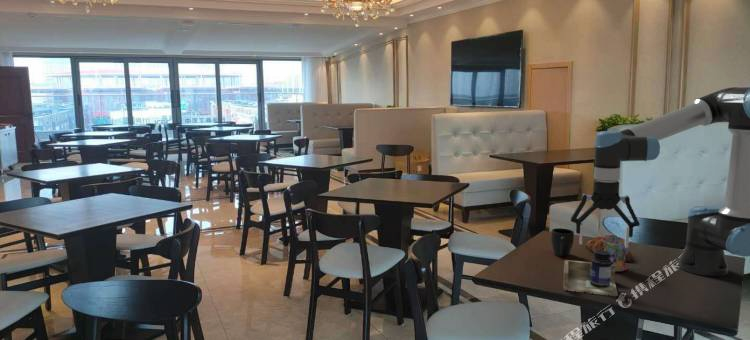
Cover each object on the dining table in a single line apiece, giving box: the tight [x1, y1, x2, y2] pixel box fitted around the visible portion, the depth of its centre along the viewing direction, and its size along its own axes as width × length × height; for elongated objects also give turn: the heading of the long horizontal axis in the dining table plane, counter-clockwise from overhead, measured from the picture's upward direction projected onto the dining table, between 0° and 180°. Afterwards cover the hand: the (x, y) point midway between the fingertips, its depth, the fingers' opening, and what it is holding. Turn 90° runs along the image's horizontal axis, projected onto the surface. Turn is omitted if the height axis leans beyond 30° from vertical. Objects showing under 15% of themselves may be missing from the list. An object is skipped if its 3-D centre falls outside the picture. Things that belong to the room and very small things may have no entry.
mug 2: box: [602, 236, 631, 273], centre depth 193 cm, size 12×9×11 cm
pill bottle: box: [590, 250, 612, 287], centre depth 174 cm, size 6×6×11 cm
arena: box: [562, 259, 619, 297], centre depth 176 cm, size 16×14×6 cm
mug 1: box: [550, 227, 575, 258], centre depth 206 cm, size 8×12×10 cm
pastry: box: [585, 234, 632, 263], centre depth 209 cm, size 17×15×8 cm
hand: (603, 245), depth 173 cm, fingers open, 13 cm apart
